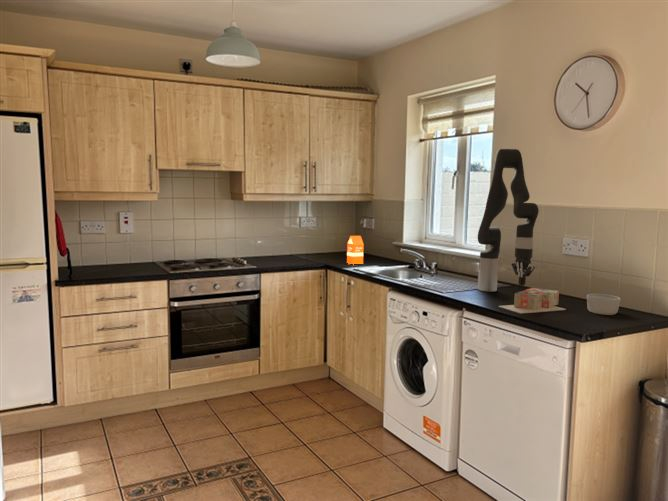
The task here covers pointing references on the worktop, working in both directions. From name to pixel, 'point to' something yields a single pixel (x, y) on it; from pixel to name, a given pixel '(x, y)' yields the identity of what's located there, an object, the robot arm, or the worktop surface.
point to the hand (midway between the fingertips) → (521, 285)
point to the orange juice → (355, 250)
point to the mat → (523, 310)
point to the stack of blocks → (536, 298)
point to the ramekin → (603, 304)
